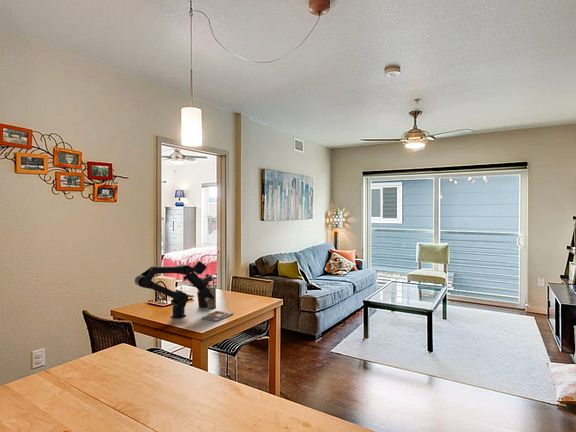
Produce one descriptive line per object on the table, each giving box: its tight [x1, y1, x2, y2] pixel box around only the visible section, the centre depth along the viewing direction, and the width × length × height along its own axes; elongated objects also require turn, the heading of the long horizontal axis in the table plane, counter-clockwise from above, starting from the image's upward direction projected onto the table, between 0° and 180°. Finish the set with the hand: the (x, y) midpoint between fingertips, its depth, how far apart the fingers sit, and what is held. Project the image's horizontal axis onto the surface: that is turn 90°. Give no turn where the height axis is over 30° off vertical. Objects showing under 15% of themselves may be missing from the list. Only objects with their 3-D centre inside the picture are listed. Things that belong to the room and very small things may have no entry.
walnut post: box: [207, 286, 217, 311], centre depth 213 cm, size 5×5×13 cm
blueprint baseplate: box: [201, 310, 234, 323], centre depth 205 cm, size 16×11×2 cm, turn 154°
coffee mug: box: [196, 290, 208, 309], centre depth 227 cm, size 12×9×10 cm
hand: (214, 297), depth 213 cm, fingers closed on walnut post, 5 cm apart
